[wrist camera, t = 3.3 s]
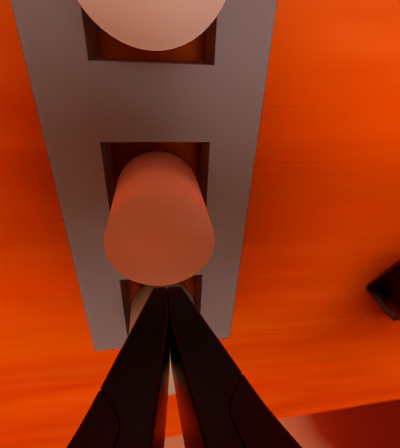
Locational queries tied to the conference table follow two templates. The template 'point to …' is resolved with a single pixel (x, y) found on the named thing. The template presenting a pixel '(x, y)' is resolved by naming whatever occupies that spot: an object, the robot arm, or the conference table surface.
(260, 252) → the conference table surface
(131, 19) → the button offwhite
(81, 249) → the button board
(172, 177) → the button terracotta
